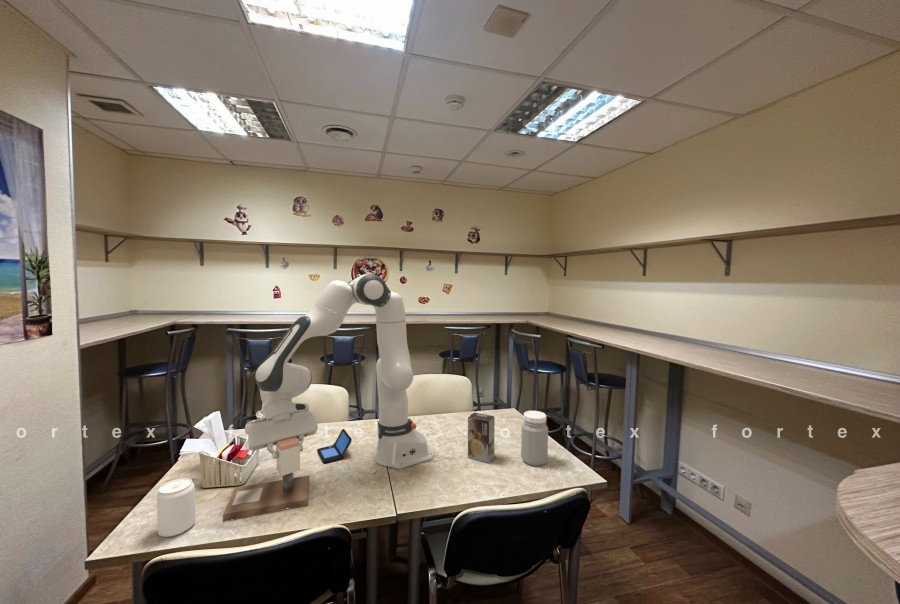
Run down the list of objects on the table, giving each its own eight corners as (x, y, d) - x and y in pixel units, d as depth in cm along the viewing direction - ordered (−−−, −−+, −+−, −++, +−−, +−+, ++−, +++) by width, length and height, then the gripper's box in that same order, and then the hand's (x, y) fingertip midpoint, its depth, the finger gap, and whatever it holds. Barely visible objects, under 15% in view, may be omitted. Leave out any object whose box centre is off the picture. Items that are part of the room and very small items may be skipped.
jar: (548, 468, 128) (549, 420, 127) (521, 465, 130) (521, 417, 129) (546, 455, 138) (547, 410, 137) (521, 453, 140) (521, 408, 139)
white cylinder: (151, 541, 91) (149, 496, 90) (167, 521, 99) (165, 479, 98) (187, 535, 93) (186, 491, 92) (200, 516, 101) (199, 475, 100)
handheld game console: (316, 451, 141) (316, 433, 140) (343, 445, 146) (343, 427, 146) (323, 465, 130) (323, 445, 130) (352, 458, 136) (352, 439, 135)
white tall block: (295, 462, 114) (294, 435, 114) (300, 469, 110) (299, 441, 109) (276, 468, 111) (275, 440, 110) (281, 476, 106) (280, 446, 106)
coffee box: (495, 456, 137) (495, 416, 136) (489, 463, 131) (489, 421, 131) (473, 451, 141) (474, 411, 141) (466, 458, 136) (467, 417, 135)
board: (309, 480, 119) (309, 455, 119) (307, 505, 106) (307, 476, 106) (234, 493, 112) (234, 465, 111) (223, 521, 99) (222, 490, 98)
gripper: (244, 417, 108) (251, 460, 101) (312, 403, 121) (323, 440, 114) (243, 427, 112) (249, 469, 105) (309, 412, 125) (319, 449, 118)
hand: (288, 454), depth 110 cm, fingers closed on white tall block, 6 cm apart
